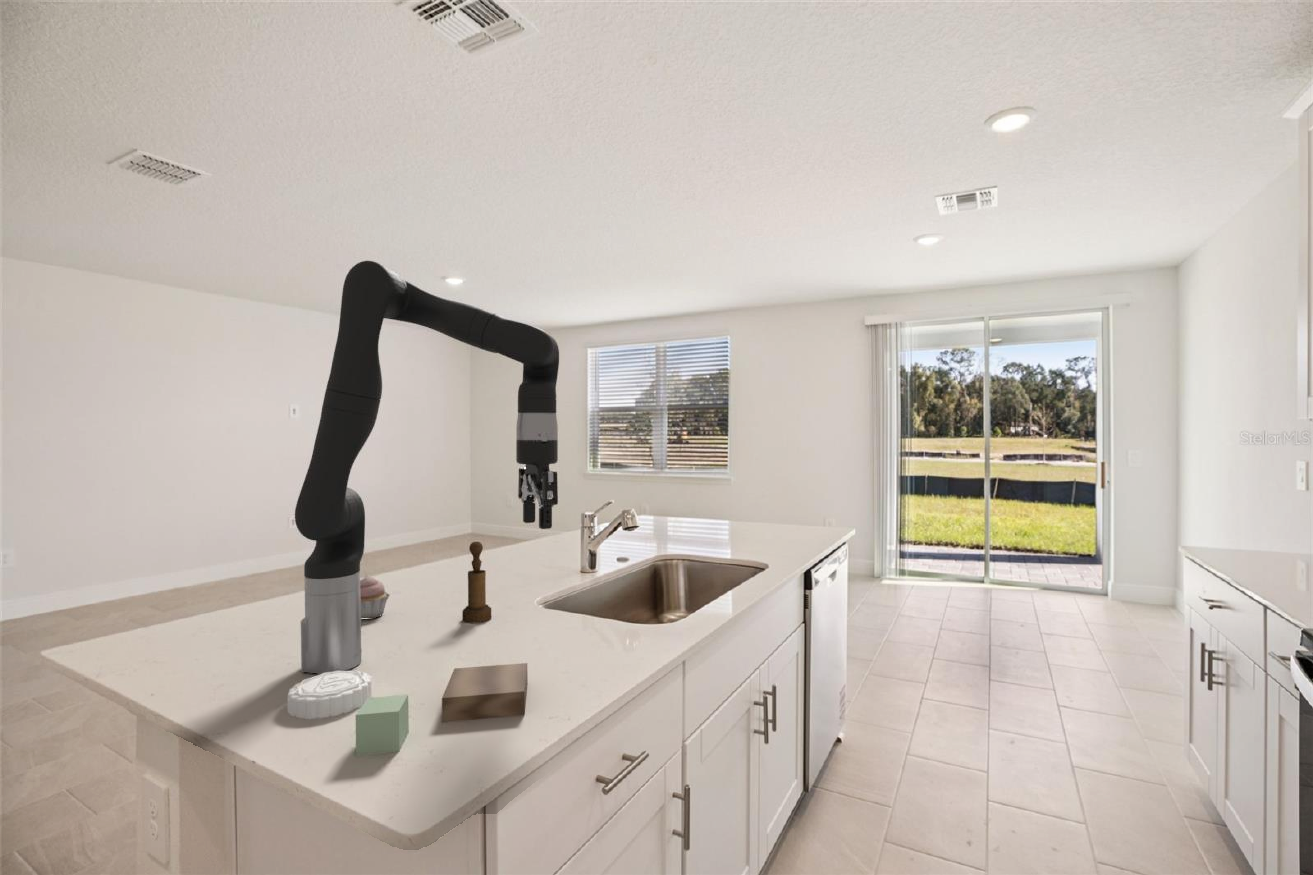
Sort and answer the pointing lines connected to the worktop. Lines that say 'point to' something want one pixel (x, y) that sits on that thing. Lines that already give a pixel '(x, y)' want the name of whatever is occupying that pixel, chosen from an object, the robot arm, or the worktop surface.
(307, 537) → the robot arm
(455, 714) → the walnut block
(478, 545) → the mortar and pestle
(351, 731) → the worktop surface
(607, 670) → the worktop surface
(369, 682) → the mooncake
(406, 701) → the sage block
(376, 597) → the cupcake
